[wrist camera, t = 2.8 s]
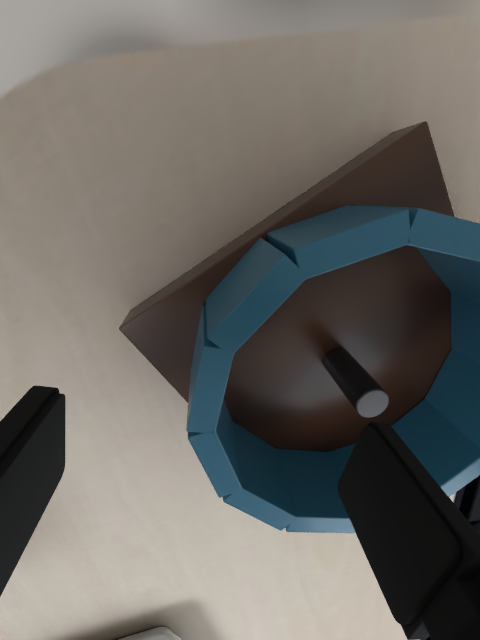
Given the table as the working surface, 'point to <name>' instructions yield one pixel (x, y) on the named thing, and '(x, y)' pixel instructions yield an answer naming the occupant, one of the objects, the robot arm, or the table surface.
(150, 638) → the tray
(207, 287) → the platform
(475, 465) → the ring
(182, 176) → the table surface
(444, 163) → the table surface
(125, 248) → the table surface
